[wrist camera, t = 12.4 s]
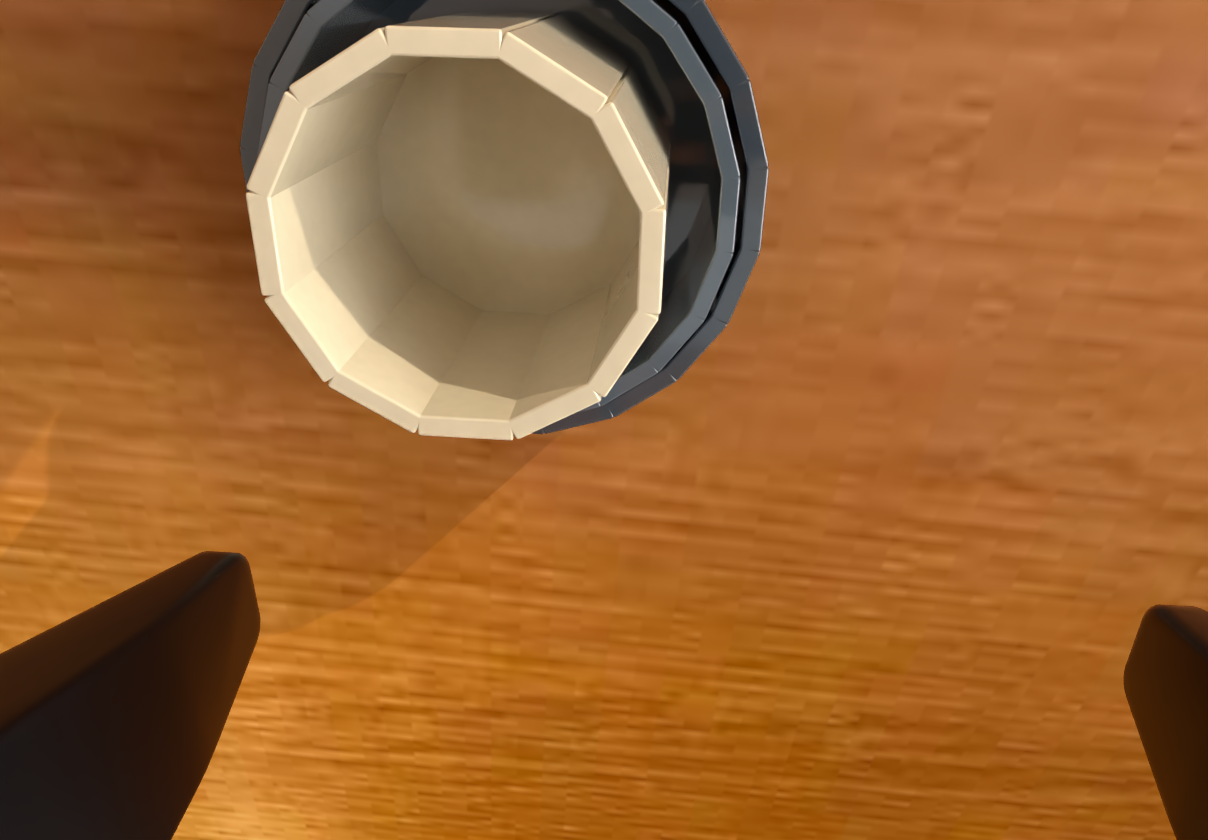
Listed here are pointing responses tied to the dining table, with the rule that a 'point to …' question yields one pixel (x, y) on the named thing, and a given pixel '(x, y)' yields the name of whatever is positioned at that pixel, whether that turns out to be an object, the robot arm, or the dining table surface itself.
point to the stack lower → (747, 149)
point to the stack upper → (679, 94)
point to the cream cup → (466, 221)
